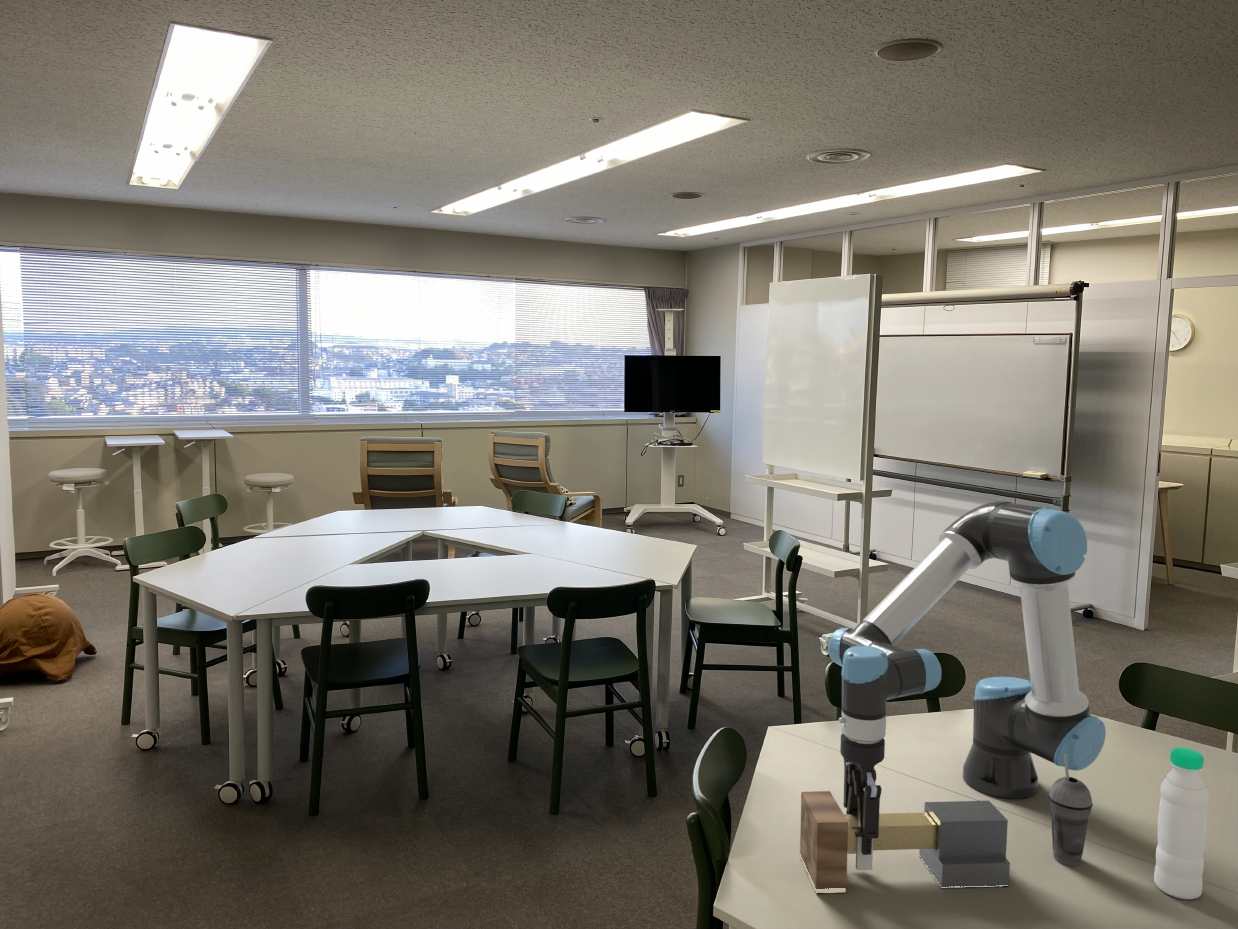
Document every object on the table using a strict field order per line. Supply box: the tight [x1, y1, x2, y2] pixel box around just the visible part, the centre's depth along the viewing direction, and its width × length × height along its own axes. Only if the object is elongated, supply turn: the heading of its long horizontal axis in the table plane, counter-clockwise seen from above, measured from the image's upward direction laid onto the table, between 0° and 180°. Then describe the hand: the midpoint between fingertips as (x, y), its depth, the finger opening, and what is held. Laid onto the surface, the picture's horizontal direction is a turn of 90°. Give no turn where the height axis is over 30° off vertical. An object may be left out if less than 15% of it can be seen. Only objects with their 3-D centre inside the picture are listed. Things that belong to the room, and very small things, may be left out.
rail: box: [843, 812, 938, 851], centre depth 155 cm, size 4×22×4 cm, turn 93°
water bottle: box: [1153, 747, 1210, 900], centre depth 150 cm, size 7×7×25 cm
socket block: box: [799, 790, 848, 889], centre depth 155 cm, size 11×5×13 cm, turn 3°
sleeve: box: [918, 800, 1011, 888], centre depth 156 cm, size 10×12×12 cm
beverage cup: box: [1048, 754, 1094, 867], centre depth 159 cm, size 7×7×20 cm
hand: (859, 860), depth 155 cm, fingers closed on rail, 4 cm apart
